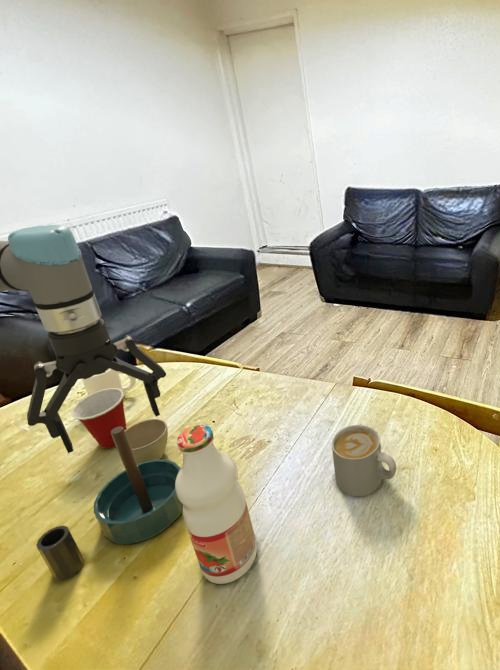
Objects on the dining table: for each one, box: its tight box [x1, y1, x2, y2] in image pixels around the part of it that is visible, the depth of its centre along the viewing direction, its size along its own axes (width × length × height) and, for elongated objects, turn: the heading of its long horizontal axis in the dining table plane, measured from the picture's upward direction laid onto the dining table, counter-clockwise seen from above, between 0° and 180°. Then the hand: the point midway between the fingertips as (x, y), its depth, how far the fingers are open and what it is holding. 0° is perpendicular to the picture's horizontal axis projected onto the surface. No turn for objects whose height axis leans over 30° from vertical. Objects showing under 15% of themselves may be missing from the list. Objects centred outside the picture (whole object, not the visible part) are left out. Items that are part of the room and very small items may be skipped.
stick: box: [111, 426, 153, 513], centre depth 78 cm, size 2×2×20 cm
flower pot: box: [125, 418, 169, 464], centre depth 95 cm, size 10×10×7 cm
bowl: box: [93, 458, 183, 545], centre depth 81 cm, size 15×15×6 cm
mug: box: [81, 368, 136, 398], centre depth 116 cm, size 12×8×10 cm
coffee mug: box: [331, 424, 397, 497], centre depth 85 cm, size 13×10×10 cm
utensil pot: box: [35, 525, 85, 582], centre depth 71 cm, size 4×4×8 cm
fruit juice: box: [175, 424, 258, 585], centre depth 67 cm, size 9×9×28 cm
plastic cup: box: [70, 388, 127, 449], centre depth 99 cm, size 11×11×12 cm
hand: (115, 429), depth 74 cm, fingers open, 13 cm apart
